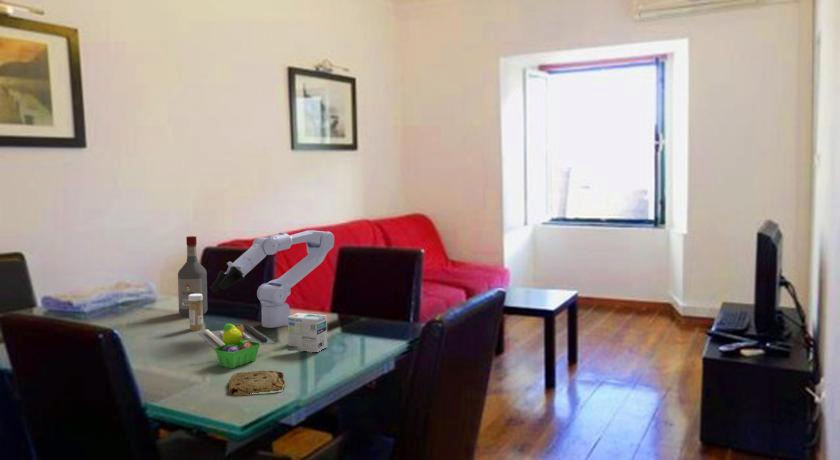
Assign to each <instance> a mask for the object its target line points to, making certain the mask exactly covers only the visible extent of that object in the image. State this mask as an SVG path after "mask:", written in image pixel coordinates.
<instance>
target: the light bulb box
mask: <svg viewBox="0 0 840 460" xmlns="http://www.w3.org/2000/svg"><path fill="white" fill-rule="evenodd" d="M327 317H328V315H326V314H315V313H303V312H296V313H293V314H292V315H291V314H290V316H288V325H287V346H290V347H289V348H287V350H288V351H295V350H297V351H296V352H303V351H307V352H306V353H312V352H318V353H320V352H322V351H323V350H322V349H324V348H326V347H327V348H328V322H327V321H328V319H327ZM327 348H326V349H327ZM321 350H322V351H321ZM324 350H325V349H324ZM308 351H309V352H308ZM319 351H320V352H319Z"/></svg>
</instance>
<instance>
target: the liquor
mask: <svg viewBox="0 0 840 460" xmlns="http://www.w3.org/2000/svg"><path fill="white" fill-rule="evenodd" d="M185 241H186V262H185V263H184V264H183V265H182V267H181V268H180V269H179V270H178V272H177V289H178V293H177V294H178V296H177V297H178V314H179V315H180V316H182V317H189V300H188V296H189V295H190V294H202V295H203V300H202V310H203V315H204V314H206V313H207V311H208V279H207V278H208V276H207V275H208V273H207V269H206V268H205V267H204V266H203V265H202V264H201V263H200V262H199V260H198V256H197V255H198V253H197V245H198V244H197V236H196V235H195V236H193V235H189V236H186V238H185Z"/></svg>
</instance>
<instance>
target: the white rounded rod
mask: <svg viewBox="0 0 840 460" xmlns="http://www.w3.org/2000/svg"><path fill="white" fill-rule="evenodd" d="M204 332H205V333H206V334H207V335H208V336H209V337H210V338H212V339H213V340H214V341H215V342H216V343H217V344H218V345H220V346H223V345H225V343H223V342H222V341H221V340H220V339H219V338H218V337H216V336H215V335H214V334H213V333H212V332H211V331H210V329H205V330H204Z"/></svg>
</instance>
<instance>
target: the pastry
mask: <svg viewBox="0 0 840 460" xmlns="http://www.w3.org/2000/svg"><path fill="white" fill-rule="evenodd" d="M228 384H229V387H228V393H229V394H230V396H234V397H235V396H237V397H239V395H240V396H247V395H246V394H250V393H251V394H252V393H259V392H270V391H279V390H282V389H284V386H285V387H286V382H285V375H284V372H282V371H276V370H253V371H252V370H251V371H241V372H236V373H235V374H233V375H232V376H230V379H229V380H228Z"/></svg>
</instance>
